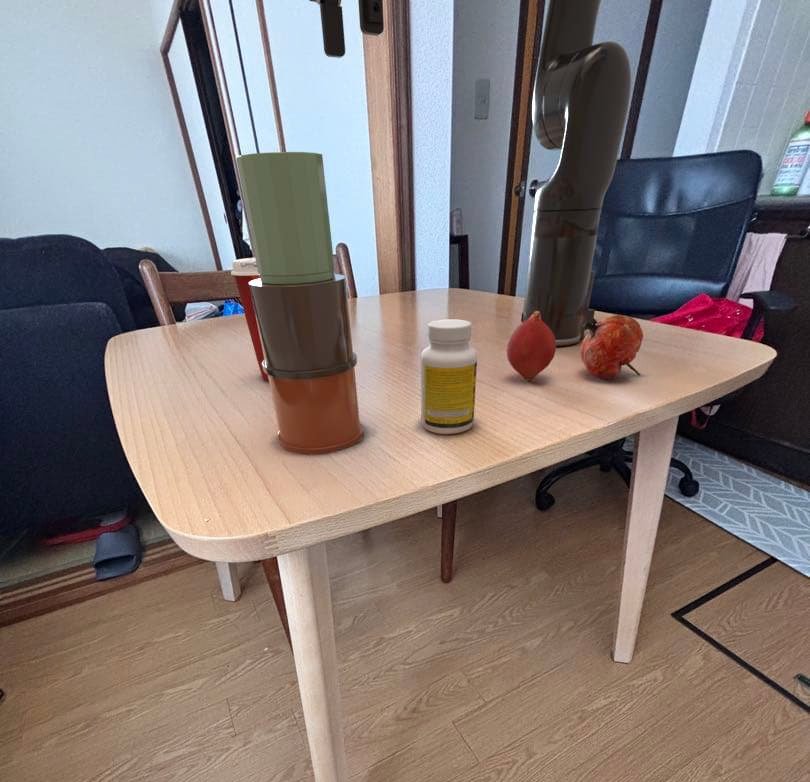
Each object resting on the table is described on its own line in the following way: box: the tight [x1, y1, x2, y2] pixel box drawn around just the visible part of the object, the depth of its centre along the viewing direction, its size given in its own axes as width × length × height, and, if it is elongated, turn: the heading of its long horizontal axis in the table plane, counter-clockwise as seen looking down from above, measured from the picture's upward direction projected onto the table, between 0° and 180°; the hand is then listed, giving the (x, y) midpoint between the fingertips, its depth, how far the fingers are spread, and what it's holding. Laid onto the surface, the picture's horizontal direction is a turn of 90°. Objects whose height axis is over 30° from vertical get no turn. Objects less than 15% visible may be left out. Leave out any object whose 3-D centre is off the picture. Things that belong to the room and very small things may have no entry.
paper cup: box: [230, 257, 269, 382], centre depth 61 cm, size 8×8×14 cm
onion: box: [506, 311, 557, 381], centre depth 57 cm, size 6×6×8 cm
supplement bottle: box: [420, 318, 478, 435], centre depth 46 cm, size 5×5×10 cm
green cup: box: [235, 151, 336, 285], centre depth 37 cm, size 6×6×8 cm
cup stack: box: [249, 273, 365, 455], centre depth 43 cm, size 9×9×14 cm
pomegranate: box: [580, 314, 644, 380], centre depth 58 cm, size 7×7×10 cm
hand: (352, 46), depth 48 cm, fingers open, 8 cm apart
